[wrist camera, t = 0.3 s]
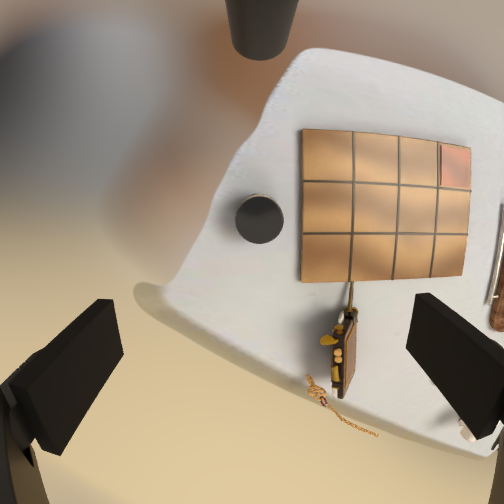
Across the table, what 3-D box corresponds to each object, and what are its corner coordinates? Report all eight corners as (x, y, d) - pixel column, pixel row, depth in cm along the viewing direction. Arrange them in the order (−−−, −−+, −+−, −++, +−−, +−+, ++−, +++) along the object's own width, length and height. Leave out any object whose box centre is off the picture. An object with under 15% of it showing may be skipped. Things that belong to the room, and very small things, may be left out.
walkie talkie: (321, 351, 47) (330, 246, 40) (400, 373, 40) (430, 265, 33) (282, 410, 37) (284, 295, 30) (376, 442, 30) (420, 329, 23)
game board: (301, 129, 34) (302, 128, 33) (466, 148, 34) (471, 148, 33) (300, 280, 38) (301, 283, 37) (458, 273, 38) (462, 276, 37)
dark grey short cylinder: (236, 194, 36) (234, 196, 32) (280, 193, 36) (283, 196, 32) (237, 236, 37) (235, 244, 33) (280, 236, 37) (283, 243, 33)
